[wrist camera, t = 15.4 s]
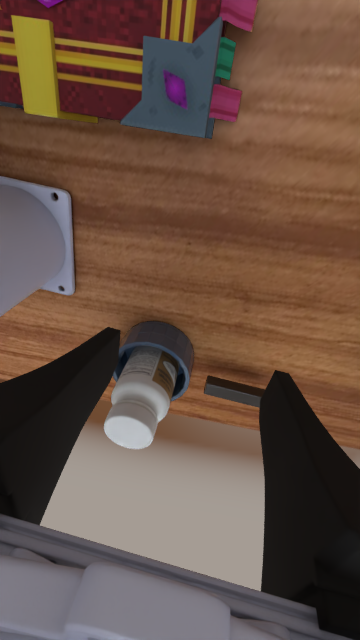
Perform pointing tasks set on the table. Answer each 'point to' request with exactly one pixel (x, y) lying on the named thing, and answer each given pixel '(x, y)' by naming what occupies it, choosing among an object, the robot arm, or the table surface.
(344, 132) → the table surface
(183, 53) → the decorative book
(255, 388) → the dark grey rectangular bar
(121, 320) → the table surface
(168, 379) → the pill bottle
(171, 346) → the dark grey open cylinder
